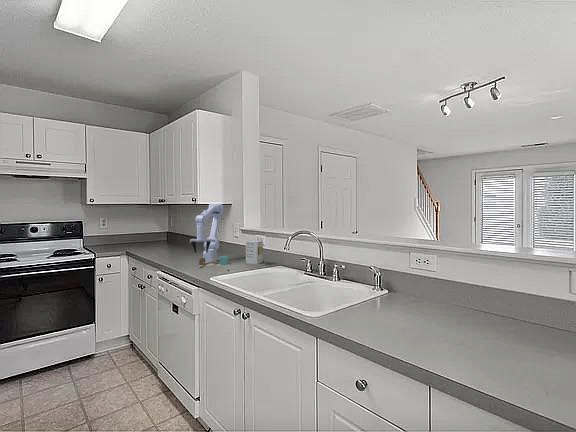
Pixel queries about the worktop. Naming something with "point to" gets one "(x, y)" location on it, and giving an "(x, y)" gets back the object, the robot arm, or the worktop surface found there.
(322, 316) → the worktop surface
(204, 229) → the robot arm
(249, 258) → the supplement box
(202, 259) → the wooden board with block
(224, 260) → the cube
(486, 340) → the worktop surface
